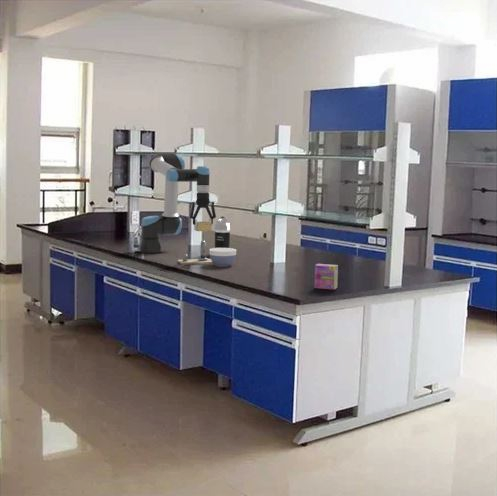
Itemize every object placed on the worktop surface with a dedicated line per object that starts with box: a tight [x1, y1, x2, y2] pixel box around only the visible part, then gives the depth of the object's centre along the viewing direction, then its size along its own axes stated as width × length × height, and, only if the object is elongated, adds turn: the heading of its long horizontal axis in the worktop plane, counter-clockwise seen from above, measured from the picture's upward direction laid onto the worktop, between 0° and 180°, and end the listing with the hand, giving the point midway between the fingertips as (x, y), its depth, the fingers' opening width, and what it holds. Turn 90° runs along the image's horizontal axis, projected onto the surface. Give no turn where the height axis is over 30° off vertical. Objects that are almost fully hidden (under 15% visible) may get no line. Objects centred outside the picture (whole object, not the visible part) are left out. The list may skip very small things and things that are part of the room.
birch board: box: [177, 258, 215, 266], centre depth 428 cm, size 12×20×1 cm, turn 110°
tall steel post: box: [198, 240, 208, 261], centre depth 429 cm, size 5×5×12 cm
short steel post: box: [182, 253, 189, 262], centre depth 426 cm, size 3×3×4 cm
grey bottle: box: [214, 216, 231, 248], centre depth 460 cm, size 10×10×25 cm
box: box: [314, 263, 339, 290], centre depth 356 cm, size 10×6×12 cm, turn 66°
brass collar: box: [195, 220, 213, 232], centre depth 427 cm, size 8×8×5 cm
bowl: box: [209, 247, 237, 268], centre depth 419 cm, size 16×16×10 cm
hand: (202, 229), depth 427 cm, fingers closed on brass collar, 8 cm apart
